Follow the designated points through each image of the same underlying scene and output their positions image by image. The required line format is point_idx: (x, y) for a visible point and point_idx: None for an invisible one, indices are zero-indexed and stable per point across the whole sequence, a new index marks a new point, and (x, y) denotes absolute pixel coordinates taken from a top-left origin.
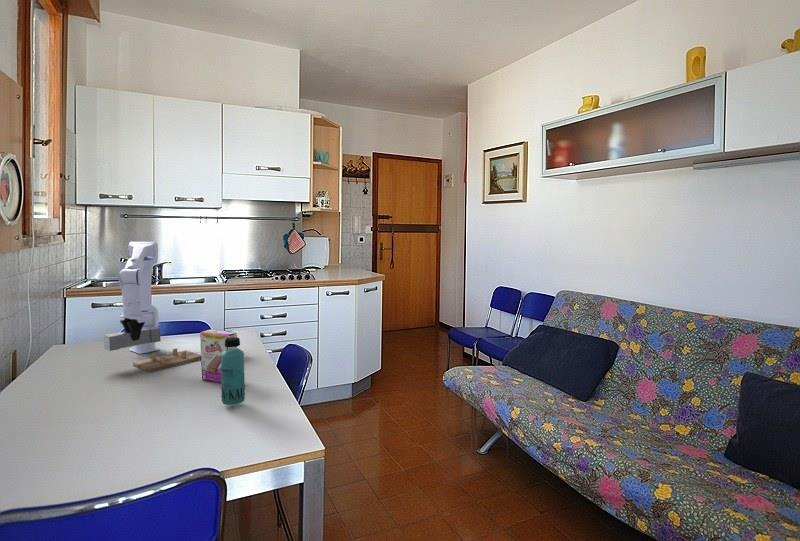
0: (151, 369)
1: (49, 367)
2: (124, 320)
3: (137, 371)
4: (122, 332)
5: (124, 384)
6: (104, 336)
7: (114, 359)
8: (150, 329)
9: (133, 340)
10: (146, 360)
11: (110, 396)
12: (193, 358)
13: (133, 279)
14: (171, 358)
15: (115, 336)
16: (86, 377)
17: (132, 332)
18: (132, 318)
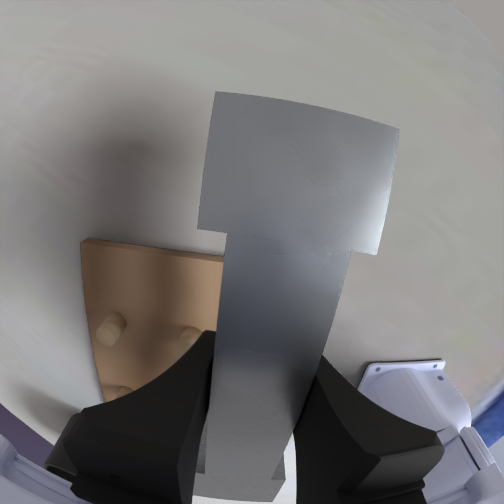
0: (83, 248)
1: (496, 90)
2: (381, 481)
3: (138, 215)
4: (308, 333)
5: (47, 104)
6: (371, 125)
7: (411, 270)
8: (204, 472)
9: (203, 331)
10: (214, 315)
11: (15, 47)
12: (104, 397)
13: None
14: (155, 375)
15: (205, 175)
16: (260, 41)
17: (166, 370)
18: (42, 502)
